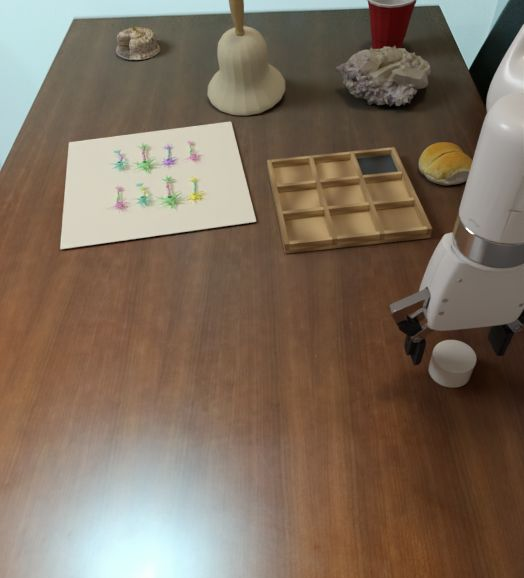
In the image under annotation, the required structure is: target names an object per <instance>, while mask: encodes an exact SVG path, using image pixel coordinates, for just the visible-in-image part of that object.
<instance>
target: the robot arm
mask: <svg viewBox="0 0 524 578" xmlns="http://www.w3.org/2000/svg"><path fill="white" fill-rule="evenodd" d="M485 101H486V103H485V108H486V109H485V110H486V114H485V116H484V120H483V123H482V126H481V129H480V133H479V136H478V140H477V143H476V147H475V149H474V154H473V157H472V165H471V168H470V172H469V175H468V179H467V181H466V182H465V186H464V190H463V194H462V196H461V201H460V203H459V208H458V211H457V215H456V219H455V222H454V225H453V230H452V232H448V233H445V234H444V235H443V236H442V237H441V239H440V240H439V242H438V244H437V245H436V247H435V249H434V251H433V253H432V255H431V257H430V259H429V261H428V264H427V266H426V269H425V272H424V274H423V276H422V280H421V283H420V285H419V289H418V291H417V292H415V293H413V294H410V295H408V296H406V297H404V298H401V299H399V300H397V301H395V302H392V303H390V304H389V306H388V310H389V312H390V316H391V317H392V320H393V321H394V323H395V324H396V326H397V327H398V330H399V332H402V333H403V334H404V335H406V336H405V340H404V344H403V346H404V352H405V355H406V356H410V359H411V362H412V364H413V366H419V365H421V363H422V359H423V356H424V353H425V349H426V346H427V341H426V338H427V337H428V336H430V335H431V334H433V332H435V331H439V332H441V331H442V332H445V331H457V330H458V331H459V330H468V329H477V328H486V327H487V328H488V327H490V330H489V332H488V335H487V339H488V341H489V343H490V345H491V348H492V351H493V352H494V354H495V356H497V357H504V356H505V353H506V351H507V349H508V346H509V345H511V342H512V339H513V337H514V335H515V333H518V332H520V331H523V328H524V23H522V26H521V27H520V29H519V31H517V34H516V35H515V37H514V39H513V41H512V42H511V43H510V46H509V47H508V49H507V51H506V52H505V54H504V55H503V57H502V59H501V61H500V63H499V65H498V67H497V69H496V71H495V73H494V75H493V77H492V80H491V82H490V84H489V88H488V90H487V95H486V99H485ZM423 320H426V321H425V322H426V323H424V324H422V325H421V322H422V321H423Z"/></svg>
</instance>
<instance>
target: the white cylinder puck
mask: <svg viewBox="0 0 524 578" xmlns="http://www.w3.org/2000/svg"><path fill="white" fill-rule="evenodd" d="M476 363H477V354H476V352H475V351H474V349H473V348H472V347H471V346H470V345H469V344H467V343H465V342H463V341H461V340H457V339H445V340H441V341H440V342H438V343H437V344H436V345H435V346H434V347H433V350H432V353H431V357H430V359H429V363H428V367H427V368H428V374H429V376H430V378H431V379H432V380H433V381H434V382H435V383H437V384H438V385H440V386H443V387H445V388H451V389H454V388H460V387H462V386H464V385H466V384H467V383H468V382H469V381H470V379H471V377H472V374H473V372H474V370H475V367H476Z"/></svg>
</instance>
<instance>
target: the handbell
mask: <svg viewBox="0 0 524 578" xmlns="http://www.w3.org/2000/svg"><path fill="white" fill-rule="evenodd" d="M228 5H229V10H230V11H229V12H230V15H231V19H232V23H233V25H234V26H233V27H232V28H229V29H228V30H226V31H225V32H224V33H223V34H222V35H221V37H220V39H219V41H218V43H217V47H216V48H217V49H216V50H217V51H216V57H217V62H218V67H219V70H218V71H217V72H215V73H214V75H213V76H212V78H211V80H210V81H209V83H208V85H207V97H208V99H209V101H210V103H211V105H212V106H213V107H215V108H216V109H217V110H219V111H220V112H222V113H225V114H228V115H231V116H238V117H249V116H254V115H259V114H261V113H264V112H266V111H268V110H271V109H272V108H273V107H274V106H276V104H278V103H279V102H280V101H281V100H282V98H283V96H284V94H285V92H286V79H285V78H284V76H283V75H282V73H281V71H280V70H279V69H278V68H276V67H275V66H273V65H271V64H270V63H269V60H268V45H267V42H266V40H265V38H264V37H263V35H262V33H261V32H260V31H259V30H257V29H255V28H254V27H252V26H251V27H250V26H248V25H245V23H244V22H245V21H244V20H245V1H244V0H228Z"/></svg>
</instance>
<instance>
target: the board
mask: <svg viewBox="0 0 524 578" xmlns="http://www.w3.org/2000/svg"><path fill="white" fill-rule="evenodd" d="M266 162H267V164H266V165H267V166H266V167H267V172H268V173H267V174H268V178H269V183H270V187H271V192H272V198H273V202H274V207H275V213H276V217H277V222H278V227H279V231H280V236H281V242H282V247H283V252H284V255H286V254H294V253H304V252H305V253H306V252H313V251H314V252H315V251H324V250H333V249H343V248H349V247H361V246H369V245H378V244H387V243H396V242H397V243H398V242H405V241H407V242H408V241H416V240H424V239H430V238H431V235H432V232H433V226H432V225H431V223H430V220H429V218H428V216H427V213H426V212H425V210H424V208H423V205H422V203H421V201H420V199H419V197H418V195H417V192H416V190H415V188H414V185H413V184H412V181H411V179H410V178H409V176H408V173H407V170H406V169H405V167H404V164H403V162H402V160H401V158H400V155H399V153H398V151H397V150H396V147H395V146H392V147H382V148H381V147H380V148H372V149H362V150H361V149H360V150H351V151H343V152H342V151H341V152H333V153H323V154H313V155H303V156H295V157H294V156H292V157H284V158H273V159H266Z"/></svg>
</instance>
